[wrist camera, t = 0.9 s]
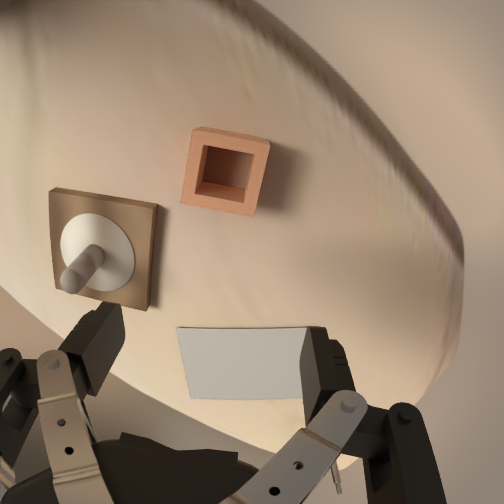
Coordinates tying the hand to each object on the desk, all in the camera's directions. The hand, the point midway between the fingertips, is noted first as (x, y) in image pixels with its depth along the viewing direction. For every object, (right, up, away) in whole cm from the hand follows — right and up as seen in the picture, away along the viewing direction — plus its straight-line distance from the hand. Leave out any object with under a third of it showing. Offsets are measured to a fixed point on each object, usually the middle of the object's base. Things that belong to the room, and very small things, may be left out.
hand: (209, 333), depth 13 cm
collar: (0, +11, +15) cm, 19 cm away
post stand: (-14, +4, +18) cm, 24 cm away
